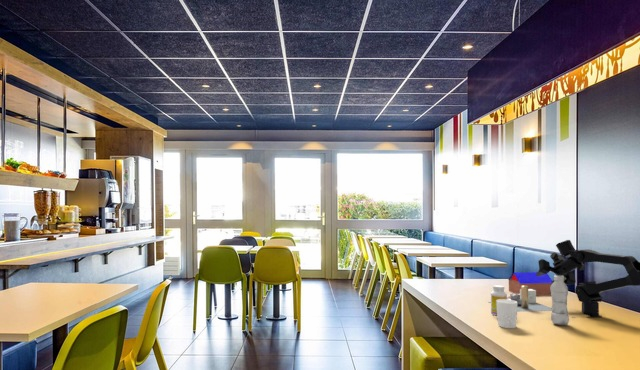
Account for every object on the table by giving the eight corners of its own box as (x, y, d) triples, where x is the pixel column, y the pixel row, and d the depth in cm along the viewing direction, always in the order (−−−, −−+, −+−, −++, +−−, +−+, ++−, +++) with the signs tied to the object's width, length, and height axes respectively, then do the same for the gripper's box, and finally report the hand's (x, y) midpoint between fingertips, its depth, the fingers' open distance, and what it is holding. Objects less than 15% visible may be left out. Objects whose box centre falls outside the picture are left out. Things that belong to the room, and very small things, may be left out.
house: (507, 291, 247) (507, 270, 248) (540, 290, 250) (539, 270, 250) (520, 295, 235) (519, 274, 236) (553, 295, 238) (553, 273, 238)
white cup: (500, 322, 179) (499, 298, 179) (520, 325, 174) (519, 300, 174) (494, 326, 173) (493, 301, 173) (514, 330, 168) (514, 304, 168)
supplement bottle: (508, 317, 187) (508, 287, 188) (492, 316, 188) (492, 287, 189) (505, 313, 193) (504, 285, 194) (489, 313, 195) (489, 284, 195)
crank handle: (535, 308, 199) (535, 286, 200) (517, 308, 198) (517, 286, 199) (517, 301, 214) (517, 280, 215) (500, 301, 213) (500, 281, 214)
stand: (558, 312, 196) (558, 297, 196) (509, 313, 193) (509, 298, 194) (532, 303, 216) (532, 289, 216) (487, 303, 213) (487, 289, 214)
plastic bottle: (560, 327, 172) (559, 277, 173) (547, 323, 178) (546, 274, 179) (573, 326, 173) (572, 276, 174) (559, 322, 180) (558, 274, 181)
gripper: (582, 259, 208) (558, 273, 219) (549, 243, 206) (527, 258, 218) (586, 278, 200) (560, 291, 212) (552, 262, 199) (528, 276, 210)
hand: (544, 279), depth 213 cm, fingers open, 9 cm apart
